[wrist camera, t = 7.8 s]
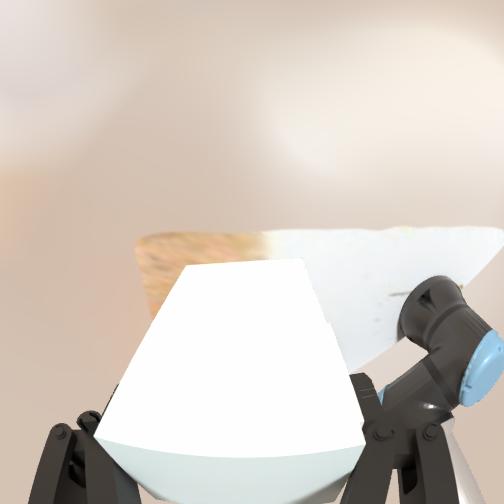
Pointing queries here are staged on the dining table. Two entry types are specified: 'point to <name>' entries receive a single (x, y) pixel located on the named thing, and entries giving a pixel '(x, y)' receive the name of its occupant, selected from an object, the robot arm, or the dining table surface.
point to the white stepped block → (236, 393)
